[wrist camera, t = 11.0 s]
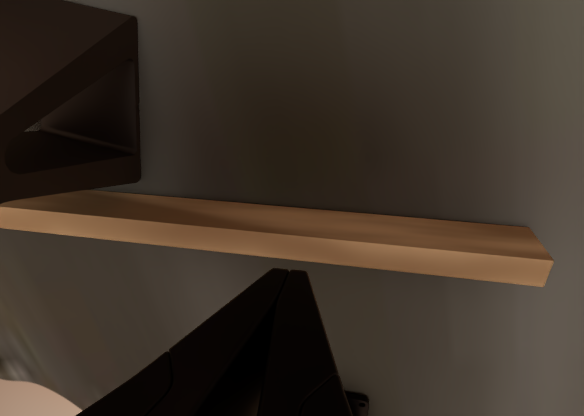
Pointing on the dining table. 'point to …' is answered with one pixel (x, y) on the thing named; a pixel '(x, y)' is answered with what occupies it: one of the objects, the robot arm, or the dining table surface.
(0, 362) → the dining table surface
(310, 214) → the reddish flat wooden frame
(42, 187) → the phone stand
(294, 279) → the robot arm
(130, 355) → the dining table surface
